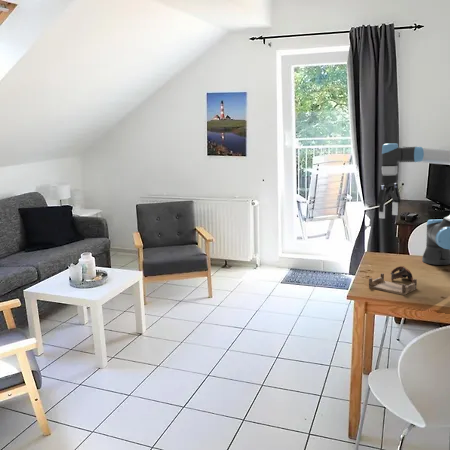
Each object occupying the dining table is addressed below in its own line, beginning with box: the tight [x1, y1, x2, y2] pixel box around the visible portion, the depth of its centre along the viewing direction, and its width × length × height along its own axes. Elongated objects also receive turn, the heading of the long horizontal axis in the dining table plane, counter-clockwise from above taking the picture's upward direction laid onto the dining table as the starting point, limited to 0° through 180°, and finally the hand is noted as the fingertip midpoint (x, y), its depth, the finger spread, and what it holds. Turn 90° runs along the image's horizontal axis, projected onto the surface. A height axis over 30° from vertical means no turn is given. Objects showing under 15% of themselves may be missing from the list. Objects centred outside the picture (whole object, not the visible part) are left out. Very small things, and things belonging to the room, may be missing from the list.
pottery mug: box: [390, 265, 414, 284], centre depth 233 cm, size 12×9×8 cm
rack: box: [368, 273, 418, 296], centre depth 222 cm, size 12×17×4 cm
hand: (388, 216), depth 247 cm, fingers open, 13 cm apart
